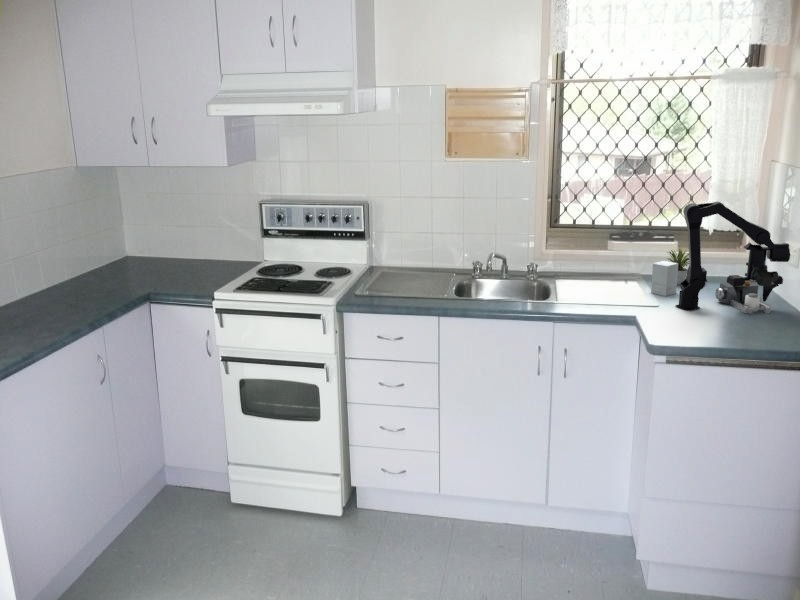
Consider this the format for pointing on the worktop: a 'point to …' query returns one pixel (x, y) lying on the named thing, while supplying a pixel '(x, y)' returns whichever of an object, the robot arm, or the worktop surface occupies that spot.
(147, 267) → the worktop surface
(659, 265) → the supplement box
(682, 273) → the house plant
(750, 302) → the bottle
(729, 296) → the motor clip
